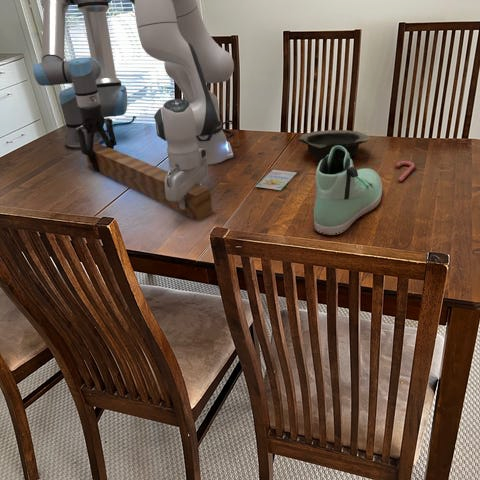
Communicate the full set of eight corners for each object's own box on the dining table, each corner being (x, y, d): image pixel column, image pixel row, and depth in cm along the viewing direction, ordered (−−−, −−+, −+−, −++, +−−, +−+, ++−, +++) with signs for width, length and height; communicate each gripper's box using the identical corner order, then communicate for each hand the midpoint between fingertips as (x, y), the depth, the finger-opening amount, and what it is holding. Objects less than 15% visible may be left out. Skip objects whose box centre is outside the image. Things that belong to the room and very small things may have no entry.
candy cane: (383, 179, 154) (383, 175, 153) (399, 163, 164) (400, 158, 163) (401, 183, 151) (402, 178, 150) (417, 166, 161) (417, 161, 160)
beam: (88, 167, 181) (83, 147, 176) (101, 162, 184) (97, 142, 180) (198, 220, 139) (194, 195, 135) (212, 213, 142) (209, 188, 138)
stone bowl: (326, 174, 159) (325, 147, 154) (286, 157, 179) (284, 133, 175) (384, 156, 168) (385, 130, 163) (340, 142, 188) (339, 118, 184)
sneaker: (389, 187, 148) (396, 123, 138) (356, 242, 123) (361, 168, 112) (346, 181, 154) (350, 119, 144) (306, 232, 129) (307, 161, 118)
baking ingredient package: (255, 185, 155) (273, 168, 166) (255, 187, 155) (273, 170, 166) (280, 189, 151) (297, 171, 163) (280, 190, 151) (297, 173, 163)
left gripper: (70, 114, 158) (86, 179, 170) (118, 100, 168) (131, 162, 181) (59, 110, 163) (76, 173, 175) (107, 97, 173) (120, 158, 185)
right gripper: (176, 174, 127) (183, 219, 135) (209, 147, 143) (213, 188, 150) (155, 172, 130) (163, 216, 137) (190, 145, 145) (195, 186, 153)
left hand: (104, 168), depth 178 cm, fingers closed on beam, 6 cm apart
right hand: (190, 202), depth 144 cm, fingers closed on beam, 7 cm apart
